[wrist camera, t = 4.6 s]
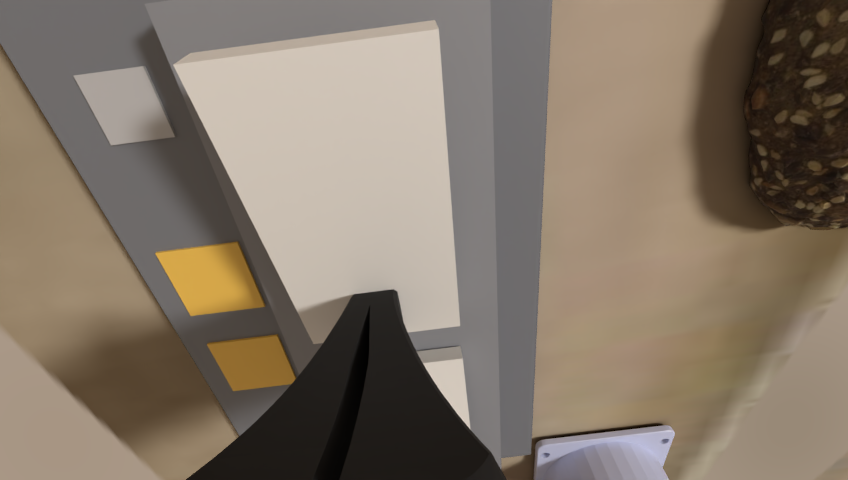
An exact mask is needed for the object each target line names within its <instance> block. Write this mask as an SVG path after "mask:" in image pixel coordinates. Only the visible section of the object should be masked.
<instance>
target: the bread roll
mask: <svg viewBox="0 0 848 480" xmlns="http://www.w3.org/2000/svg"><path fill="white" fill-rule="evenodd" d="M762 23H763V26H764V30H765V33H764V36H763V38H762V40H761V43H760V45H759V47H758V49H757V51H756V52H757V57H756V61H755V66H754V71H753V77H752V81H751V83H750V85H749V87H748V89H747V90H746V94H745V97H744V116H745V119H746V121H747V123H748V131H749V133H750V135H751V137H752V139H751V143H750V151H749V162H750V167H751V177H750V184H749V185H750V187H751V188H752V190H753V191H754V193H755V194H756V195H757V197H758V198H759V199H760V201H761V203H762V204H763V205H764V206H765V207H767V208H768V209H769V210H770V211H771V213H772V214H773V215H774V216H776V218H777V219H778V220H779V222H781V223H782V224H784V225H786V226H788V225H797V224H800V225H804V226H807V227H808V228H810V229H812V230H830V229H834V228H835V229H836V228H838V227H839V228H843V227H848V0H771V1H770V3H769V5H768V7H767V9H766V11H765V13H764V15H763V17H762Z"/></svg>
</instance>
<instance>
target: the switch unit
mask: <svg viewBox="0 0 848 480" xmlns="http://www.w3.org/2000/svg"><path fill="white" fill-rule="evenodd" d="M551 15H552V0H0V44H1V45H2V47H3V49H4V50H5V52H6V53H7V55H8V57H9V58H10V60H11V62H12V63H13V65H14V67H15V68H16V70H17V72H18V73H19V75H20V76H21V78H22V80H23V81H24V83H25V85H26V86H27V88H28V90H29V91H30V93H31V94H32V96H33V98H34V99H35V101H36V103H37V104H38V106H39V108H40V109H41V111H42V113H43V114H44V116H45V117H46V119H47V121H48V122H49V124H50V126H51V127H52V129H53V131H54V132H55V134H56V136H57V137H58V139H59V140H60V142H61V144H62V145H63V147H64V149H65V150H66V152H67V154H68V155H69V157H70V158H71V160H72V162H73V163H74V165H75V167H76V168H77V170H78V172H79V173H80V175H81V177H82V178H83V180H84V181H85V183H86V185H87V186H88V188H89V190H90V191H91V193H92V195H93V196H94V198H95V200H96V201H97V203H98V204H99V206H100V208H101V209H102V211H103V213H104V214H105V216H106V218H107V219H108V221H109V222H110V224H111V226H112V227H113V229H114V231H115V232H116V234H117V236H118V237H119V239H120V241H121V242H122V244H123V245H124V247H125V249H126V250H127V252H128V254H129V255H130V257H131V259H132V260H133V262H134V264H135V265H136V267H137V268H138V270H139V272H140V273H141V275H142V277H143V278H144V280H145V282H146V283H147V285H148V286H149V288H150V290H151V291H152V293H153V295H154V296H155V298H156V300H157V301H158V303H159V305H160V306H161V308H162V309H163V311H164V313H165V314H166V316H167V318H168V319H169V321H170V323H171V324H172V326H173V328H174V329H175V331H176V332H177V334H178V336H179V337H180V339H181V341H182V342H183V344H184V346H185V347H186V349H187V351H188V352H189V354H190V355H191V357H192V359H193V360H194V362H195V364H196V365H197V367H198V369H199V370H200V372H201V373H202V375H203V377H204V378H205V380H206V382H207V383H208V385H209V387H210V388H211V390H212V392H213V393H214V395H215V396H216V398H217V400H218V401H219V403H220V405H221V406H222V408H223V410H224V411H225V413H226V415H227V416H228V418H229V419H230V421H231V423H232V424H233V426H234V428H235V429H236V431H237V433H238V434H239V436H240V435H241V434H243V433H244V432H245V431H246V430H247V429H248V428H249V427H250V426H251V425H252V424H254V423H255V422H256V421H257V420H258V419H259V418H260V417H261V416H262V415H263V414H264V413H265V412H266V411H267V410H268V409H269V408H270V407H271V406H272V405H273V404H274V403H275V402H276V401H277V399H278V398H279V397H280V396H281V395H282V394H283V393H284V392H285V391H286V390H287V389H288V387H289V386H290V385H291V384H292V383H293V382H294V381H295V379H296V378H297V377H298V376H299V374H300V373H301V372H302V371H303V369H304V368H305V367H306V366H307V364H308V363H309V362H310V360H311V359H312V358H313V356H314V355H315V353H316V352H317V351H318V349H319V348H320V347H321V345H322V344H323V343H319V344H313V342H312V340H311V338H310V336H309V334H308V332H307V330H306V328H305V326H304V324H303V322H302V320H301V318H300V316H299V314H298V312H297V310H296V308H295V306H294V304H293V302H292V300H291V298H290V296H289V294H288V292H287V290H286V288H285V286H284V284H283V282H282V280H281V278H280V276H279V274H278V272H277V270H276V269H275V267H274V265H273V263H272V261H271V259H270V257H269V255H268V253H267V251H266V249H265V247H264V245H263V243H262V241H261V239H260V237H259V235H258V233H257V231H256V229H255V227H254V225H253V223H252V221H251V219H250V217H249V215H248V213H247V211H246V209H245V207H244V205H243V203H242V201H241V199H240V197H239V195H238V193H237V191H236V189H235V187H234V185H233V183H232V181H231V179H230V177H229V175H228V173H227V171H226V169H225V167H224V165H223V163H222V161H221V159H220V157H219V155H218V153H217V151H216V149H215V147H214V145H213V143H212V141H211V139H210V137H209V135H208V133H207V131H206V129H205V127H204V125H203V123H202V121H201V119H200V117H199V115H198V113H197V111H196V109H195V107H194V105H193V103H192V101H191V99H190V97H189V96H188V94H187V92H186V90H185V88H184V86H183V84H182V82H181V80H180V78H179V76H178V74H177V72H176V70H175V68H174V66H173V64H175V63H176V62H178V61H179V60H181V59H182V58H184V57H185V56H187V55H188V54H189V53H195V52H202V51H209V50H217V49H224V48H232V47H239V46H246V45H254V44H261V43H269V42H276V41H283V40H291V39H298V38H306V37H313V36H320V35H328V34H335V33H343V32H350V31H357V30H365V29H372V28H380V27H387V26H394V25H402V24H409V23H417V22H424V21H431V20H435V21H436V24H437V26H438V28H439V38H440V52H441V66H442V80H443V93H444V107H445V121H446V135H447V149H448V163H449V176H450V190H451V204H452V218H453V232H454V246H455V260H456V273H457V287H458V301H459V315H460V326H457V327H449V328H441V329H433V330H424V331H416V332H408V335H409V337H410V339H411V341H412V343H413V345H414V347H415V349H416V351H424V350H432V349H441V348H449V347H457V346H460V347H461V352H462V357H463V365H464V374H465V383H466V393H467V402H468V411H469V420H470V429H471V431H472V432H473V433H474V434H475V435H476V436H477V437H478V439H479V440H480V441H481V442H482V443H483V444H484V445H485V446H486V447H487V448H488V449H489V450H490V451H491V453H492V454H493V456H494V458H495V460H496V462H497V464H498V465H499V467H500V469H501V458H505V457H514V456H522V455H531V442H532V421H533V399H534V378H535V357H536V335H537V314H538V293H539V271H540V250H541V229H542V207H543V186H544V165H545V143H546V122H547V101H548V79H549V58H550V37H551Z"/></svg>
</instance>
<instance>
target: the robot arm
mask: <svg viewBox="0 0 848 480" xmlns="http://www.w3.org/2000/svg"><path fill="white" fill-rule="evenodd" d="M674 435H675V432H674V431H673V429H672V428H671V427H670V426H668V425H662V426H653V427H645V428H636V429H628V430H619V431H611V432H602V433H594V434H585V435H577V436H569V437H560V438H552V439H544V440H540V441H538V442H537V443H536V446H535V462H534V480H669V478H668V477H667V475H666V473H665V471H664V470H663V468H662V467H663V465H664V462H665V459H666V456H667V454H668V451H669V448H670V446H671V443H672V440H673V437H674ZM186 480H506V478H505V476H504V474H503V472H502V471H501V469H500V467H499V465H498V464H497V462H496V460H495V458H494V456H493V454H492V453H491V451H490V450H489V449H488V448H487V447H486V446H485V445H484V444H483V443H482V442H481V441H480V440H479V439H478V437H477V436H476V435H475V434H474V433H473V432H472V431H471V430H470V429H469V427H468V426H467V425H466V424H465V422H464V421H463V420H462V419H461V418H460V416H459V415H458V414H457V413H456V411H455V410H454V409H453V407H452V406H451V405H450V403H449V402H448V401H447V399H446V398H445V397H444V395H443V394H442V393H441V391H440V390H439V388H438V387H437V385H436V384H435V382H434V381H433V379H432V378H431V376H430V374H429V373H428V371H427V370H426V368H425V366H424V364H423V363H422V361H421V359H420V357H419V355H418V353H417V351H416V349H415V347H414V345H413V343H412V341H411V339H410V337H409V335H408V332H407V330H406V327H405V325H404V322H403V317H402V311H401V306H400V301H399V297H398V292H397V291H396V290H394V289H391V290H383V291H375V292H367V293H359V294H354V295H353V296H352V297H351V299H350V300H349V302H348V304H347V306H346V307H345V309H344V311H343V313H342V314H341V316H340V317H339V319H338V321H337V322H336V324H335V326H334V327H333V329H332V330H331V332H330V333H329V335H328V336H327V338H326V339H325V341H324V342H323V344H322V345H321V347H320V348H319V349H318V351H317V352H316V353H315V355H314V356H313V358H312V359H311V360H310V362H309V363H308V364H307V366H306V367H305V368H304V369H303V371H302V372H301V373H300V374H299V376H298V377H297V378H296V379H295V381H294V382H293V383H292V384H291V385H290V386H289V387H288V389H287V390H286V391H285V392H284V393H283V394H282V395H281V396H280V397H279V398H278V399H277V401H276V402H275V403H274V404H273V405H272V406H271V407H270V408H269V409H268V410H267V411H266V412H265V413H264V414H263V415H262V416H261V417H260V418H259V419H258V420H257V421H256V422H255V423H254V424H252V425H251V426H250V427H249V428H248V429H247V430H246V431H245V432H244V433H243V434H241V435H240V436H239V437H238V438H237V439H236V440H235V441H233V442H232V443H231V444H230V445H229V446H228V447H226V448H225V449H224V450H223V451H222V452H221V453H219V454H218V455H217V456H216V457H214V458H213V459H212V460H211V461H209V462H208V463H207V464H206V465H204V466H203V467H202V468H200V469H199V470H198V471H196V472H195V473H194V474H193V475H191V476H190V477H189V478H187V479H186Z"/></svg>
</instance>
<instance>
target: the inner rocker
mask: <svg viewBox="0 0 848 480" xmlns="http://www.w3.org/2000/svg"><path fill="white" fill-rule="evenodd" d="M417 353H418V355H419V357H420V359H421V361H422V363H423V364H424V366H425V368H426V370H427V371H428V373H429V374H430V376H431V378H432V379H433V381H434V382H435V384H436V385H437V387H438V388H439V390H440V391H441V393H442V394H443V395H444V397H445V398H446V399H447V401H448V402H449V403H450V405H451V406H452V407H453V409H454V410H455V411H456V413H457V414H458V415H459V416H460V418H461V419H462V420H463V421H464V422H465V424H466V425H467V426H468V427H469V429H470V420H469V411H468V402H467V393H466V383H465V374H464V365H463V357H462V352H461V347H460V346H457V347H449V348H441V349H432V350H424V351H417ZM470 430H471V429H470Z"/></svg>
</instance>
